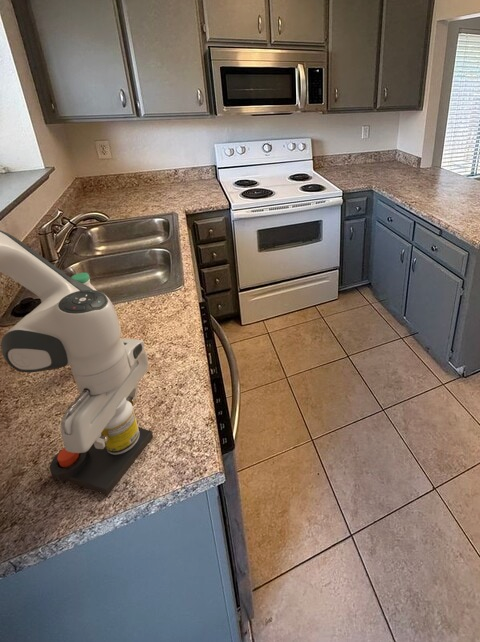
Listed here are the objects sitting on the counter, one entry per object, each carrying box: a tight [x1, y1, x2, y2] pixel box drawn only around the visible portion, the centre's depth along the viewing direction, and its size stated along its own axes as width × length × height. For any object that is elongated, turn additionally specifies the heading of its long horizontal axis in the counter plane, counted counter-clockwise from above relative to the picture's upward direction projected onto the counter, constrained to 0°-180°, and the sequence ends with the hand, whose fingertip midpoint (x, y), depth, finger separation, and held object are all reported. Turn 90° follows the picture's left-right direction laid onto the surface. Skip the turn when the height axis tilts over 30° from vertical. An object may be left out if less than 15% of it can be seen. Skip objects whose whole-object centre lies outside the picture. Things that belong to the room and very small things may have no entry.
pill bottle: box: [101, 397, 140, 455], centre depth 72 cm, size 6×6×11 cm
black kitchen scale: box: [49, 426, 154, 497], centre depth 72 cm, size 14×13×4 cm
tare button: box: [57, 447, 79, 467], centre depth 69 cm, size 3×3×2 cm
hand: (118, 423), depth 72 cm, fingers open, 8 cm apart
